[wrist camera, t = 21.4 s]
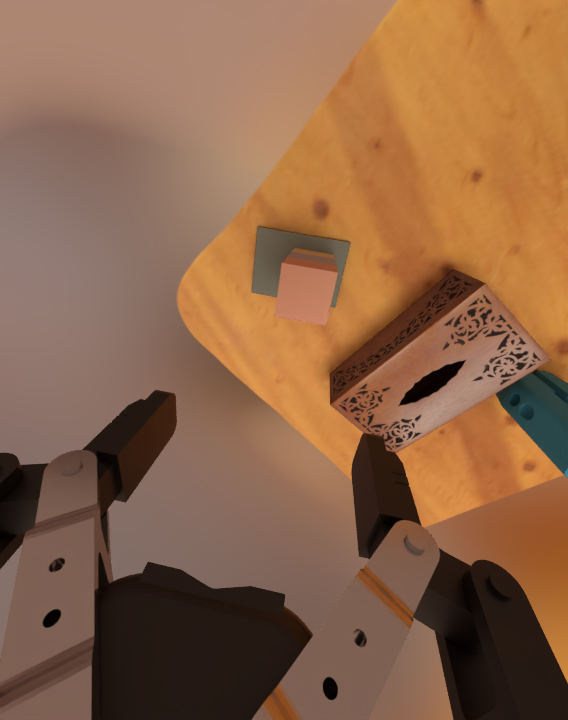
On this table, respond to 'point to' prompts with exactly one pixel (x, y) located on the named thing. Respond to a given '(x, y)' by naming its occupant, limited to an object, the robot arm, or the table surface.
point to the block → (541, 413)
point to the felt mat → (279, 245)
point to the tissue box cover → (434, 363)
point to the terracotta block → (305, 290)
